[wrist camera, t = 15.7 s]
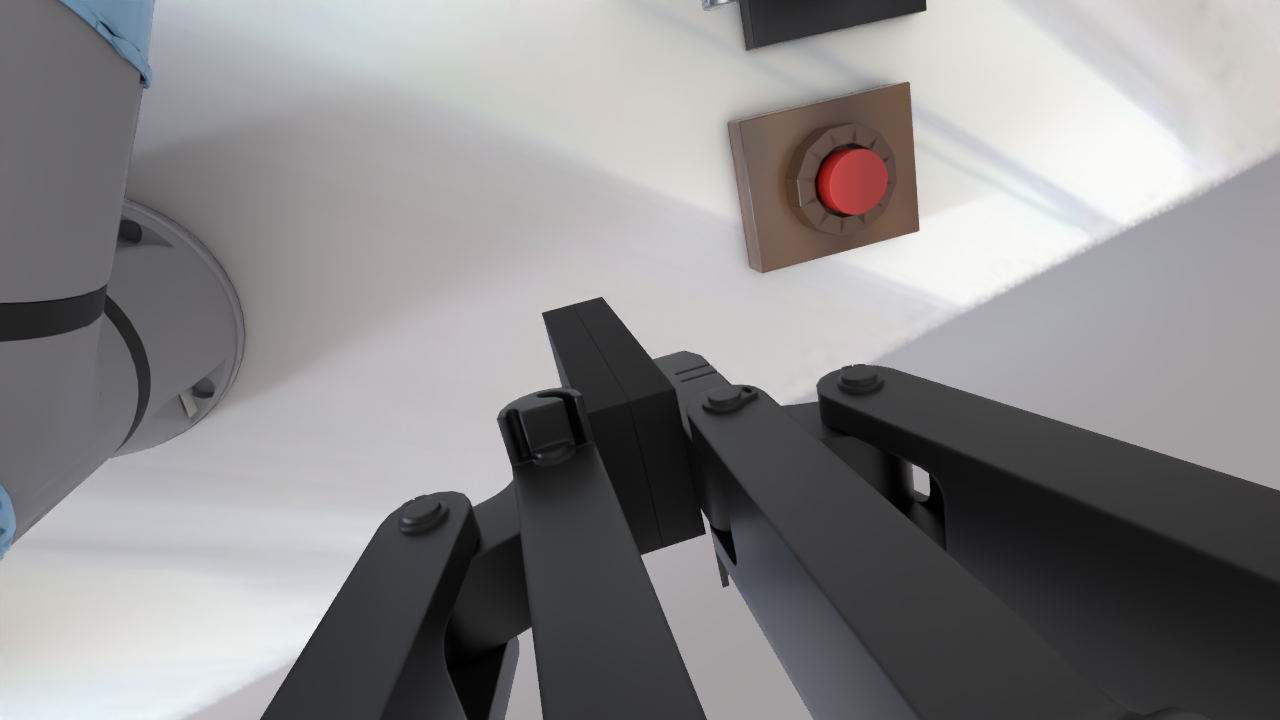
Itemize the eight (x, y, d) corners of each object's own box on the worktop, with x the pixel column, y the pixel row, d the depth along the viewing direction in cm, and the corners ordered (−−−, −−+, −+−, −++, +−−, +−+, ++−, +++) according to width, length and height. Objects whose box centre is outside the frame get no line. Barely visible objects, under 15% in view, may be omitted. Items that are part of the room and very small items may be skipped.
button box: (750, 268, 49) (772, 278, 45) (727, 122, 45) (749, 120, 42) (901, 227, 50) (936, 234, 47) (891, 83, 47) (926, 79, 43)
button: (820, 218, 45) (833, 221, 43) (813, 156, 44) (826, 156, 42) (875, 203, 45) (890, 206, 44) (870, 142, 44) (885, 142, 42)
